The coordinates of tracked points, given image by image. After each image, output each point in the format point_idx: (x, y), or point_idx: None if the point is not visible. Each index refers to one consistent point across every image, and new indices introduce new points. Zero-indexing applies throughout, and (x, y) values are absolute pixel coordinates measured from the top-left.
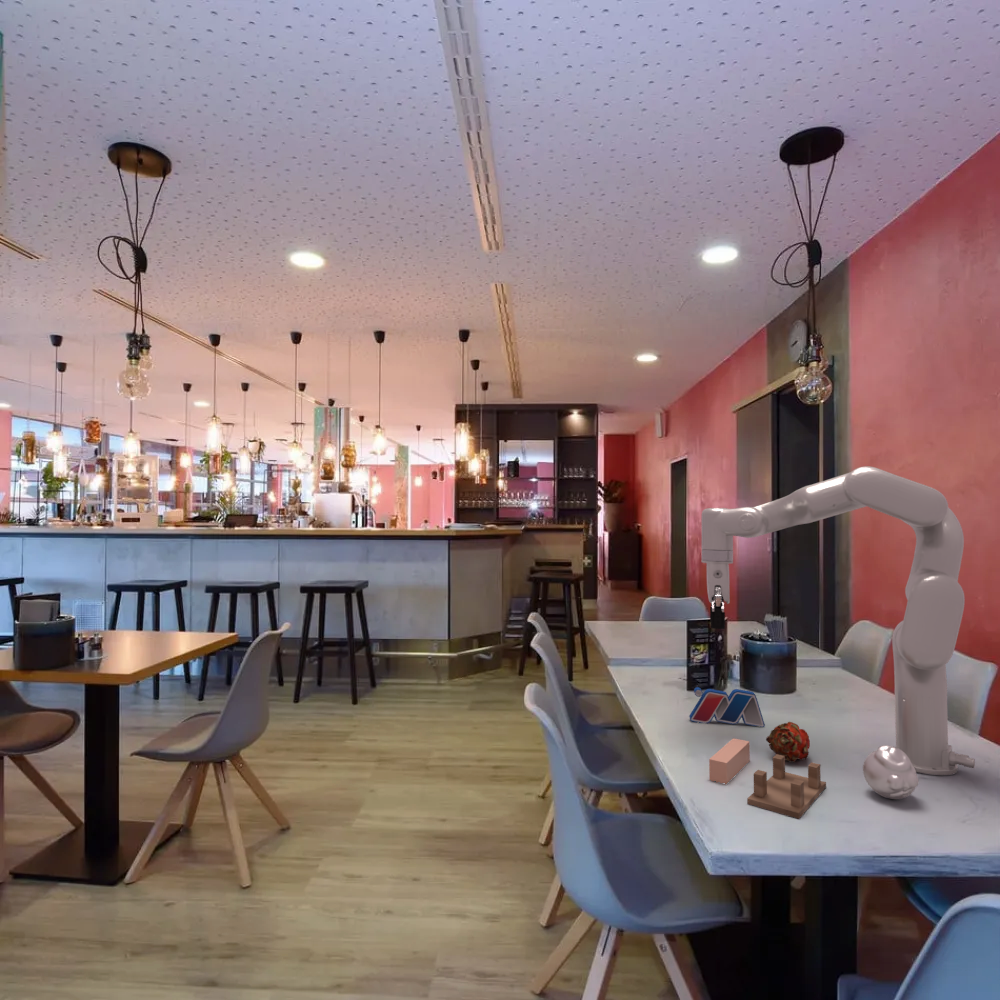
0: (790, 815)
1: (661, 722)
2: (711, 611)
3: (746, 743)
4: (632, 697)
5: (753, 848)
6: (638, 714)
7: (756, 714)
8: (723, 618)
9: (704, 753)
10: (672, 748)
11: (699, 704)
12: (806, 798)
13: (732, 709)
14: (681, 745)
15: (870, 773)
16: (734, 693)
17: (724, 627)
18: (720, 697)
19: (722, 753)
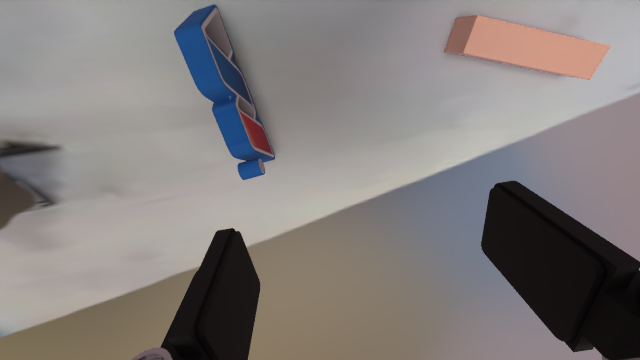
0: None
1: (303, 195)
2: (245, 353)
3: (492, 20)
4: (188, 263)
5: None
6: (279, 233)
7: (216, 24)
8: (576, 231)
9: (437, 103)
10: (427, 153)
11: (264, 154)
12: None
13: (237, 84)
14: (409, 144)
15: None
16: (226, 85)
17: (516, 184)
18: (243, 117)
19: (558, 61)
